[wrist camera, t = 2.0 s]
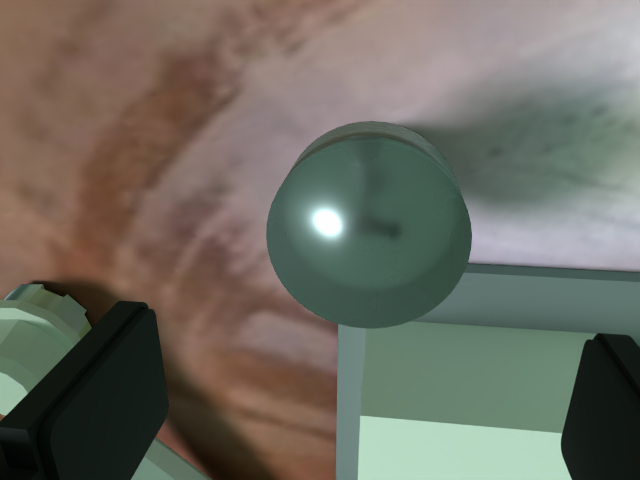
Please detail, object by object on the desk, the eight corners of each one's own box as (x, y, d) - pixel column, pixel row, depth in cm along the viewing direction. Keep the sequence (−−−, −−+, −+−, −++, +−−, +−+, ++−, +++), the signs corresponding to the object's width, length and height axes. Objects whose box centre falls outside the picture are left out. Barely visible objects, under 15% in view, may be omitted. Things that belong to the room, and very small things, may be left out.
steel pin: (306, 93, 23) (261, 138, 15) (449, 95, 22) (484, 145, 14) (308, 223, 26) (270, 322, 18) (436, 229, 25) (459, 334, 17)
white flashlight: (238, 609, 34) (-104, 391, 24) (254, 512, 40) (-18, 304, 30) (300, 589, 32) (-42, 345, 22) (307, 490, 38) (37, 262, 28)
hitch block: (341, 256, 26) (322, 350, 19) (648, 273, 24) (758, 383, 17) (336, 499, 34) (322, 632, 26) (572, 524, 32) (626, 674, 25)
